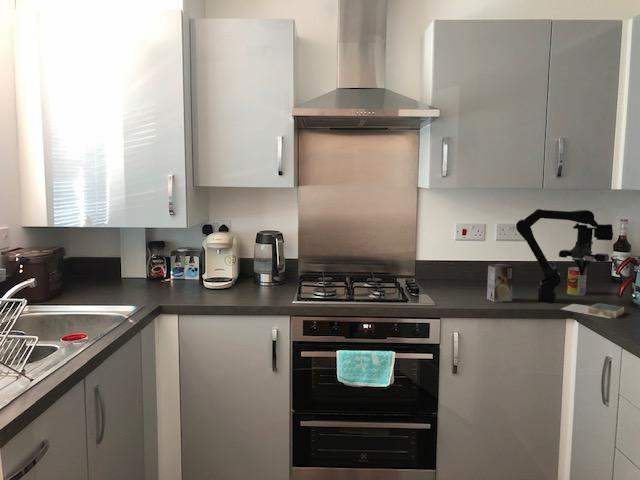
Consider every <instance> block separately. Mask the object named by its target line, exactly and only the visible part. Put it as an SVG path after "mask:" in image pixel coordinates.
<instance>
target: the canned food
mask: <svg viewBox="0 0 640 480" xmlns="http://www.w3.org/2000/svg"><path fill="white" fill-rule="evenodd" d="M587 270H588V269H587ZM587 270H586V272H585V274H584V275H583V276H581V275H580V271H579V268H578V266H577V267H576V266H575V267H574V266H573V267H571V266H569V267H568V270H567V271H568V272H567V273H568V274H567V286H566V294H567V295H572V296H585V295H586V287H587V286H586V285H587V275H588V274H587Z"/></svg>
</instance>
